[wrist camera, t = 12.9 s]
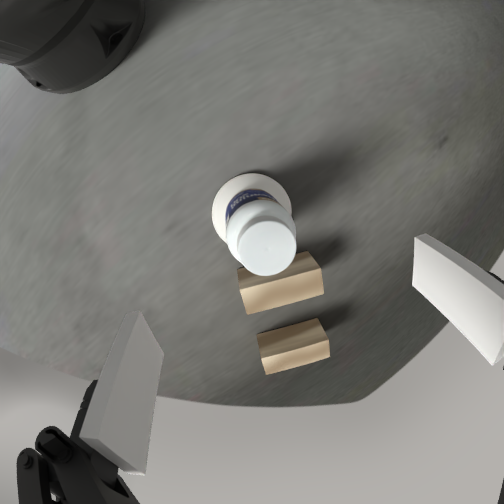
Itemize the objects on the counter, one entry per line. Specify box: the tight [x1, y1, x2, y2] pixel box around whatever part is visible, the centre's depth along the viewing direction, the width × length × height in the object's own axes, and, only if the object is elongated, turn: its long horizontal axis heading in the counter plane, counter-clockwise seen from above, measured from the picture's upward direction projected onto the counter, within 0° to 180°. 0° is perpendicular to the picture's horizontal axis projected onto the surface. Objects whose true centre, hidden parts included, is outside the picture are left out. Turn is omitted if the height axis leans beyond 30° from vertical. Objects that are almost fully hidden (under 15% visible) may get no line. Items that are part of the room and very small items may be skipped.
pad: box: [212, 173, 292, 243], centre depth 28 cm, size 8×8×1 cm
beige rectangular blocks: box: [237, 251, 330, 375], centre depth 30 cm, size 12×8×4 cm, turn 13°
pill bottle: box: [225, 188, 296, 276], centre depth 23 cm, size 5×5×10 cm
